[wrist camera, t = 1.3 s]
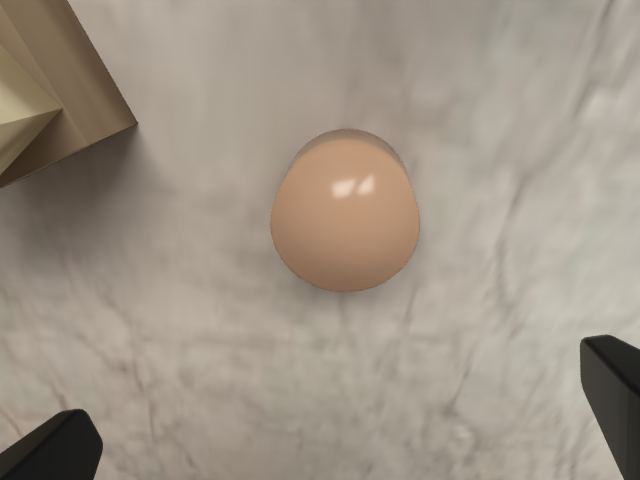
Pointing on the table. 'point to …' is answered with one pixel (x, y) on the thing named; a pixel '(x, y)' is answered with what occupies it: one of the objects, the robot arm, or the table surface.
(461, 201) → the table surface
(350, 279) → the peach cylinder
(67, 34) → the walnut block
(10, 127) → the oak block
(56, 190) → the table surface
